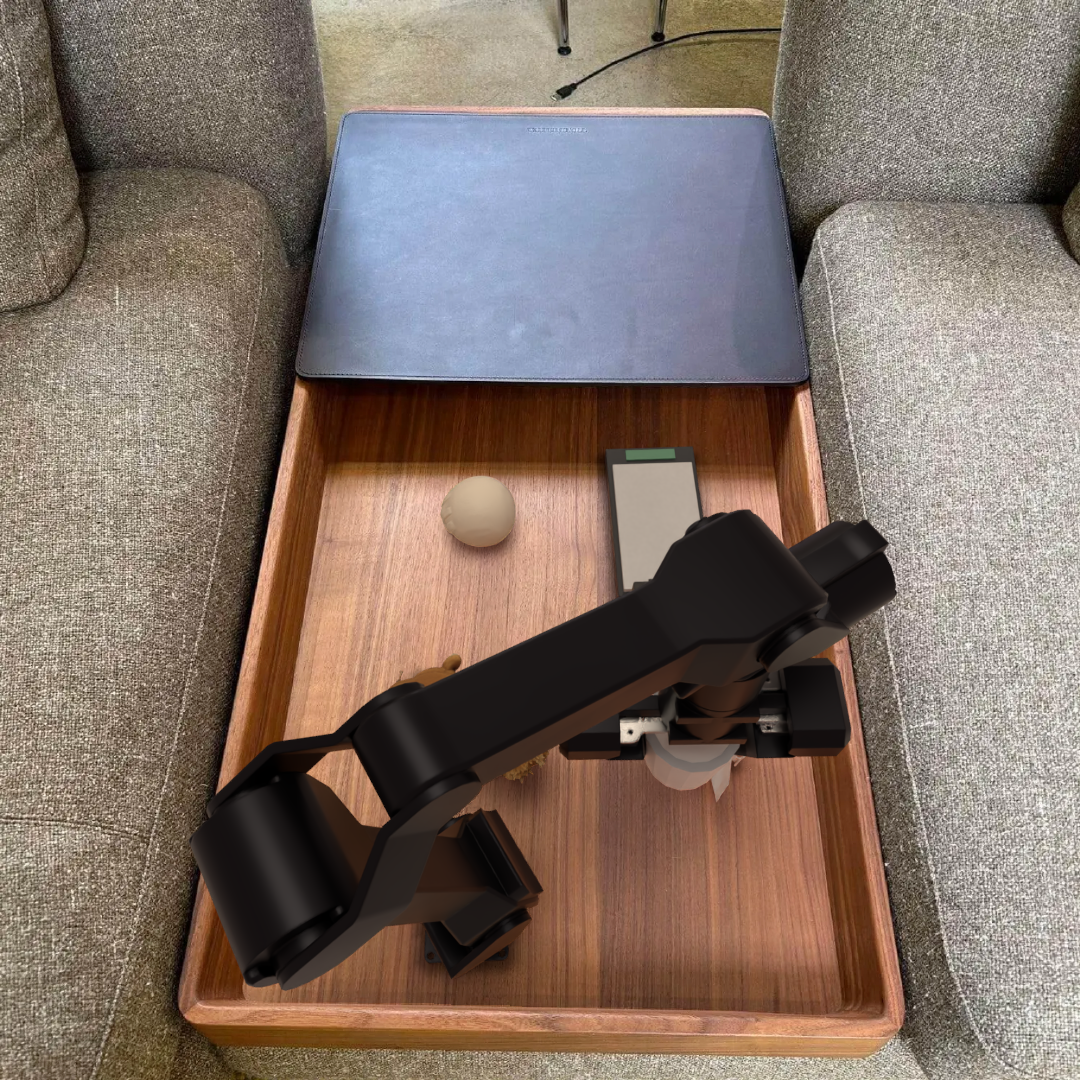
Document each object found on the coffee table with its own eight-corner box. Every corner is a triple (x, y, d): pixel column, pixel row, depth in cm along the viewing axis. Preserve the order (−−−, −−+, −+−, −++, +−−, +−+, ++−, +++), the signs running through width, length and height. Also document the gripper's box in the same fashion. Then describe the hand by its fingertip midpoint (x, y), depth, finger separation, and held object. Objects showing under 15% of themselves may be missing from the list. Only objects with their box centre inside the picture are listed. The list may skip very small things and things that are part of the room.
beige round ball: (443, 503, 90) (436, 465, 85) (515, 499, 91) (513, 460, 85) (443, 561, 87) (436, 525, 81) (518, 556, 87) (516, 520, 81)
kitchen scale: (711, 602, 84) (716, 590, 82) (617, 605, 84) (619, 593, 82) (690, 457, 93) (693, 442, 91) (604, 460, 93) (605, 445, 91)
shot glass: (727, 715, 69) (743, 681, 63) (726, 804, 65) (743, 777, 59) (638, 705, 69) (646, 671, 63) (632, 793, 66) (640, 766, 60)
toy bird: (670, 716, 78) (696, 695, 74) (716, 716, 80) (743, 696, 76) (690, 807, 74) (719, 790, 70) (737, 805, 76) (768, 789, 72)
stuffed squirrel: (409, 675, 81) (387, 611, 70) (562, 700, 79) (564, 640, 68) (380, 783, 76) (351, 733, 65) (542, 812, 74) (541, 767, 63)
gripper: (849, 545, 57) (792, 644, 70) (556, 549, 57) (556, 648, 70) (885, 713, 51) (816, 786, 64) (560, 717, 51) (558, 790, 64)
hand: (683, 746), depth 66 cm, fingers closed on shot glass, 6 cm apart
